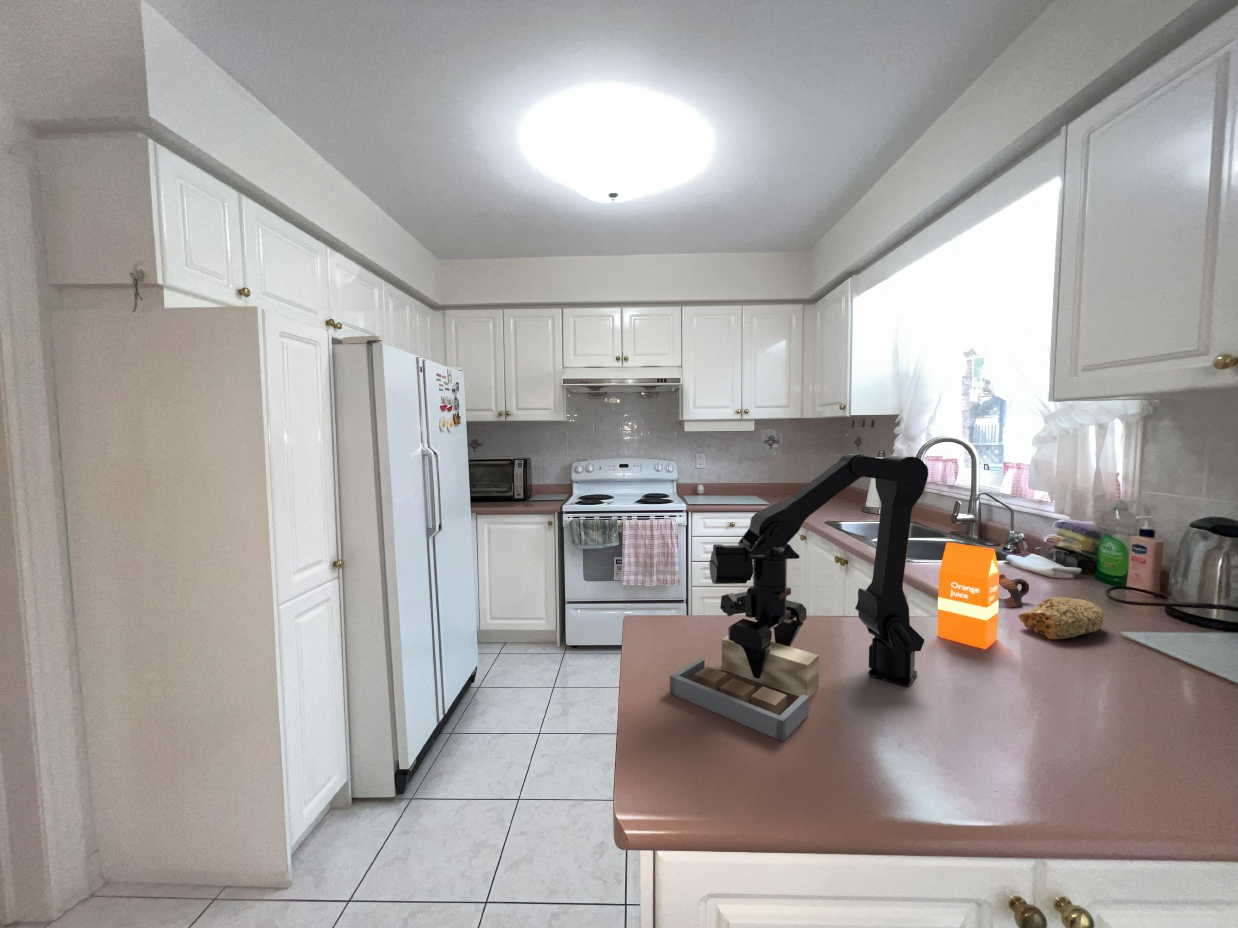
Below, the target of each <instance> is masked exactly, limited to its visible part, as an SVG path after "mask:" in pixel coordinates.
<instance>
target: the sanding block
mask: <svg viewBox="0 0 1238 928" xmlns="http://www.w3.org/2000/svg"><path fill="white" fill-rule="evenodd" d="M770 644H772V646H771V649H770V652H769V655H768V657H767V660H766V663H765V666H764V669H763V672H762V674H761V677H760V678H759V679H757V678H755V677H753V674H752V671H751V668H750V665H749V662H748V659H747V656H746V654H745V651H744V649H743V648H742V647H741V646H740V645H738V644H736V643H734V641H730V640H729V639H728V635H726V636H725V637H722V639H721V671H725V672H726V673H728V672H729V673H730V674H733V675H736V676H740V677H741V678H745V679H747V680H750V681H754V682H756V683H759V684H761V685H765V686H768V687H770V688H774V689H776V690H780V691H782V692H785V693H788V694H790V695H794V696H797V697H798V698H799V697H800V696H801V695H802V694H803V695H806V696H808V697H809V698H810V697H811V696H812V695H813V694H814V693H815V692H816V691H817V690H818V689H819V686H820V685H819V684H820V681H819V680H820V677H819V676H820V675H819V673H820V655H819V654H816V653H812V652H810V651H807V650H803V649H799V648H795V647H792V646H791V647H789V646H785V645H782V644H778V643H775V641H772V640H771V641H770Z"/></svg>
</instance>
